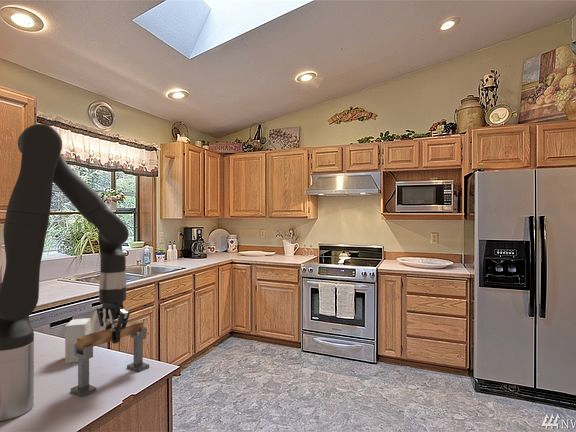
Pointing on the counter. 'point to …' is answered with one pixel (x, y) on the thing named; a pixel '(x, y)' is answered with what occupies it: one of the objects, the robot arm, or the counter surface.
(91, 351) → the grey support rack
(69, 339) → the small box
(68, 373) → the counter surface
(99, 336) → the tan wooden bar
